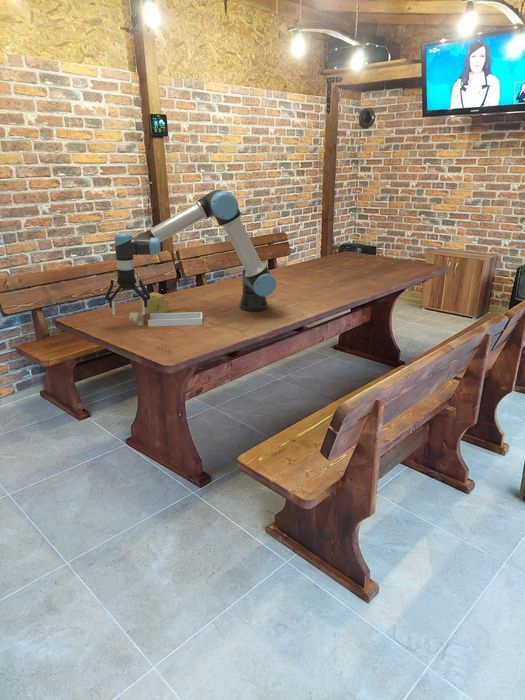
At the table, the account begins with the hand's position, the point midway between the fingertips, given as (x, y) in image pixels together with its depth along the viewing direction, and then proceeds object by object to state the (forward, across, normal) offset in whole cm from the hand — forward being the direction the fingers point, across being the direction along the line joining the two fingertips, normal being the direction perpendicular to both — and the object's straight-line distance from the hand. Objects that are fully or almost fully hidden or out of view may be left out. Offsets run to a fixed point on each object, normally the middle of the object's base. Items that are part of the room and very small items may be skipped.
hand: (129, 314), depth 228 cm
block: (+3, -6, 0) cm, 7 cm away
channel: (+6, -21, 0) cm, 22 cm away
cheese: (+6, -10, -18) cm, 22 cm away
